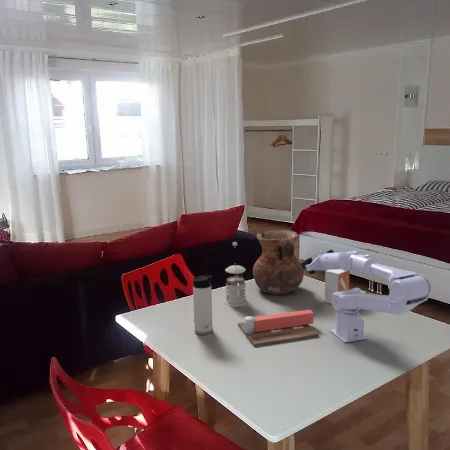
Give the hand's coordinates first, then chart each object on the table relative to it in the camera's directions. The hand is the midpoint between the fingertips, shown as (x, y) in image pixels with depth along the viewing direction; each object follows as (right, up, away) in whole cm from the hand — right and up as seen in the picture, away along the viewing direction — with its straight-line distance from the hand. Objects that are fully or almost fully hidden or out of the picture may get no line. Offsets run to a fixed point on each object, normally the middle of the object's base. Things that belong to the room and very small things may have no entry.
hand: (310, 262), depth 169 cm
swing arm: (-13, -21, -11) cm, 27 cm away
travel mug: (-39, -23, -10) cm, 46 cm away
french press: (-27, -17, +17) cm, 36 cm away
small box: (+13, -17, +15) cm, 26 cm away
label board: (-14, -23, -11) cm, 29 cm away
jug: (-9, -14, +29) cm, 34 cm away
